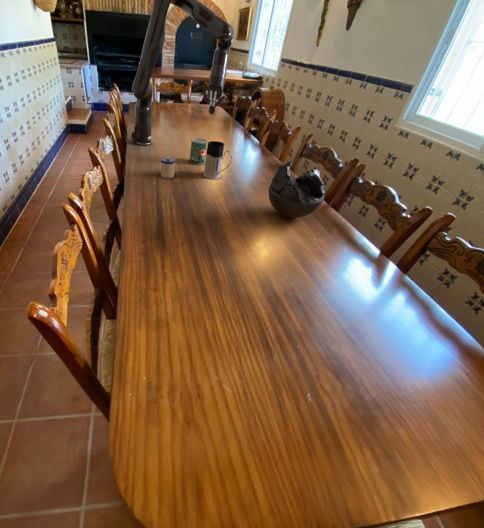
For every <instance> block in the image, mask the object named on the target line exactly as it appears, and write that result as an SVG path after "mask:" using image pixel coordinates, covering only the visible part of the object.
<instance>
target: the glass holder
mask: <svg viewBox="0 0 484 528" xmlns="http://www.w3.org/2000/svg"><path fill="white" fill-rule="evenodd" d="M224 148H225V143H224V142H222V141H219V140H218V141H216V140H211V141H207V146H206V152H205V161H204V170H203V174H202V177H204V178H206V179H210V180H218V179H220V178H222V176H221V172H224V171H225V170H226V169H228V168H229V167H230V165H231V164H232V161H233V153H232V151H231V150H226V151H225V152H224V150H225V149H224ZM227 153H229V154H230V160H229V163H228V165H227V166H226V167H225V168H223V169H222V165H223V159H225V158H226V154H227Z"/></svg>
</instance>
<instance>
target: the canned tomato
mask: <svg viewBox="0 0 484 528" xmlns="http://www.w3.org/2000/svg"><path fill="white" fill-rule="evenodd" d="M207 144H208V141H207V140H206V139H203V138H192V139H191V143H190V155H189V163H190V164H192V165H198V166H201V165H203V164H204V165H205V161H206V152H207Z"/></svg>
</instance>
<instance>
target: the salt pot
mask: <svg viewBox="0 0 484 528" xmlns="http://www.w3.org/2000/svg"><path fill="white" fill-rule="evenodd" d="M175 167H176V158H175V157H173V156H170V155H167V156H162V157H161V158H160V176H161V178H164V179H171V178H174V177H175V169H176V168H175Z"/></svg>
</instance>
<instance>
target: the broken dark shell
mask: <svg viewBox="0 0 484 528" xmlns="http://www.w3.org/2000/svg"><path fill="white" fill-rule="evenodd" d="M292 165H293V161H287V162H285V164H282V165H280V166H278V167H277V171H276V173H275V174H274V175H273V177H272V179H271V183H270V184H269V186H268V193H267V194H268V199H269V200H268V201H269V203H270V205H271V206H272V208H273V209H274V211H276V212H277V213H278V214H280V216H284V217H286V218H290V219H298V218H303V217H306V216H309V215H310V214H312V213H314V212H315V211H316V210H317V209H318V208H319V207H320V206H321V205H322V203H323V202H324V199H325V189H324V188H325V186H324V182H323V179H322V178H321V177H320V175H321V171H320V169H318V168H313V169H310V170H307V171H305V172H302V173H301V175H299V176H297V177H295V178H293V177H292V176H291V172H290V168H291V167H292Z"/></svg>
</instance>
